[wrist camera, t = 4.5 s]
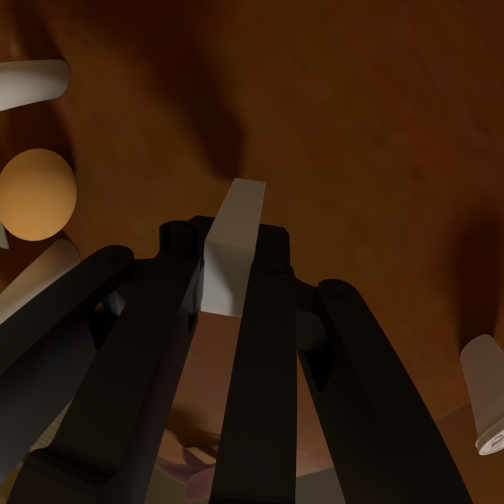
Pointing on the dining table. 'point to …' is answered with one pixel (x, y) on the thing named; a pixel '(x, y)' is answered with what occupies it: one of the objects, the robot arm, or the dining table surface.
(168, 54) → the dining table surface
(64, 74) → the post
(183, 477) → the lily
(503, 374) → the smoothie
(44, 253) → the post
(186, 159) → the dining table surface
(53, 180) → the ball
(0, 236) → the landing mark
